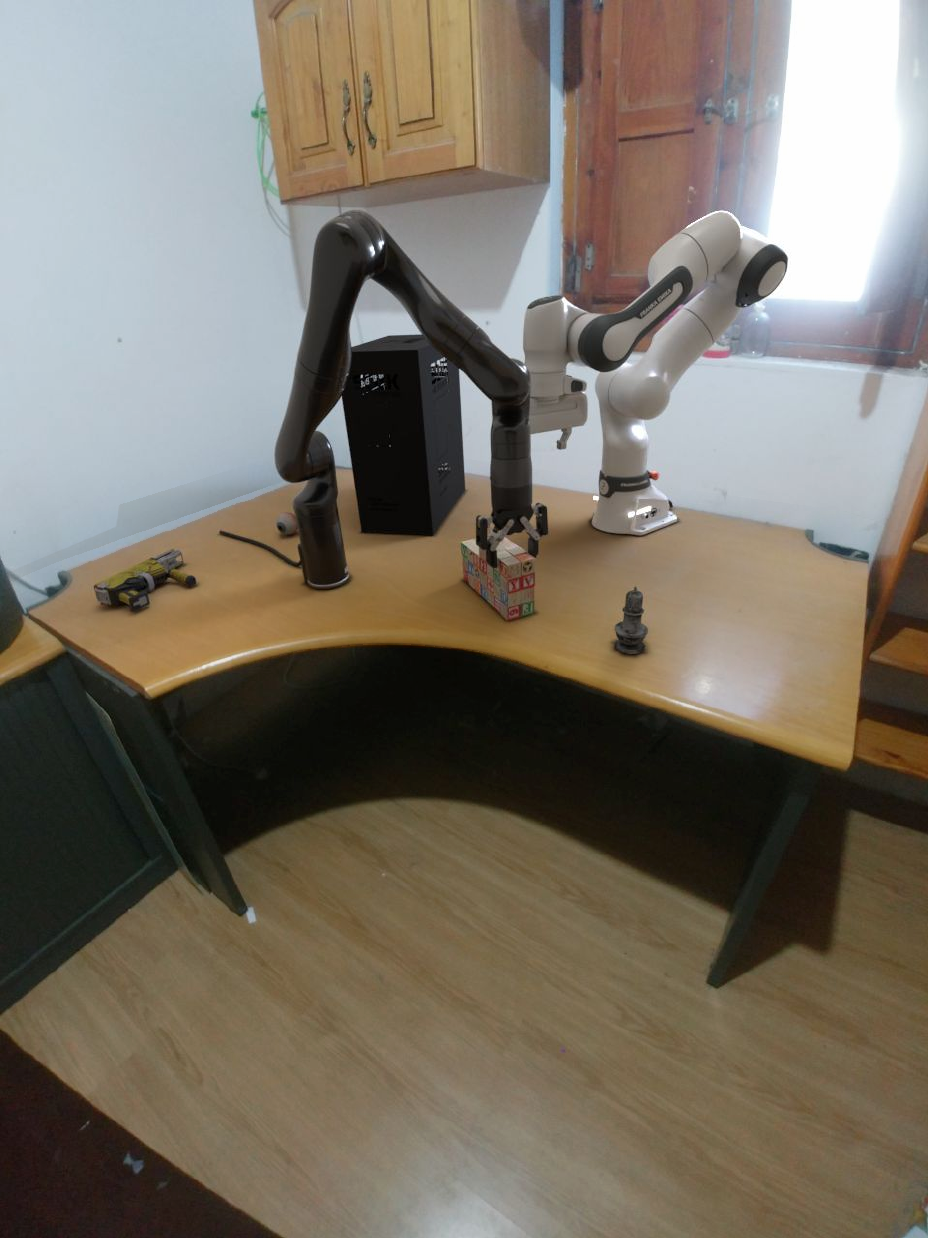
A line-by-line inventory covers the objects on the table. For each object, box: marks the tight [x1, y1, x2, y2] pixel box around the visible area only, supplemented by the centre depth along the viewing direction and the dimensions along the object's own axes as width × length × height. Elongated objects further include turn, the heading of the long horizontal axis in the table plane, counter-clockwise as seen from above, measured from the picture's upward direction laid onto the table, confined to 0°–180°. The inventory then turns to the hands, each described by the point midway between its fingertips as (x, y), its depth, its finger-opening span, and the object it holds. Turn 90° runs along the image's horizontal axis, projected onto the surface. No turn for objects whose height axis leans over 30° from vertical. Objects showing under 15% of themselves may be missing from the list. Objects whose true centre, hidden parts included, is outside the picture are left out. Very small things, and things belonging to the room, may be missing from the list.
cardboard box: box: [341, 333, 466, 536], centre depth 166 cm, size 38×20×45 cm, turn 167°
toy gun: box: [93, 548, 197, 612], centre depth 139 cm, size 5×24×15 cm
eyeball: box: [275, 511, 298, 536], centre depth 163 cm, size 6×6×6 cm
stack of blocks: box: [460, 536, 536, 621], centre depth 125 cm, size 21×6×12 cm, turn 25°
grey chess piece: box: [613, 585, 649, 655], centre depth 105 cm, size 6×6×12 cm
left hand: (513, 561), depth 117 cm, fingers open, 8 cm apart
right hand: (543, 452), depth 132 cm, fingers open, 8 cm apart
